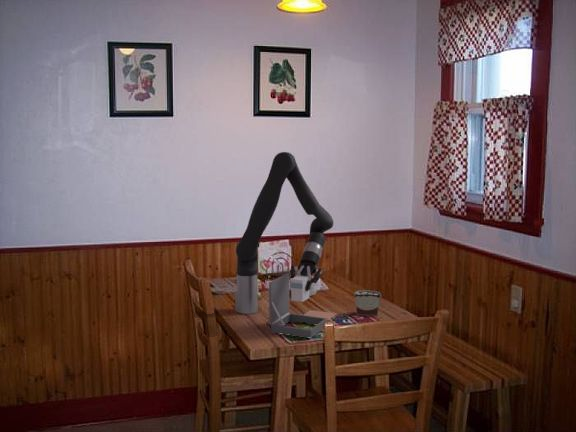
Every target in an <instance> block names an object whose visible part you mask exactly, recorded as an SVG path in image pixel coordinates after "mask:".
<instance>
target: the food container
mask: <svg viewBox="0 0 576 432" xmlns="http://www.w3.org/2000/svg"><path fill="white" fill-rule="evenodd" d="M353 298H354V299H355V300H354V301H355V312H356V316H379V307H380V300H381V298H382V294H381V292H379V291H376V290H370V289H365V290H364V289H362V290H357V291H355V292H354V294H353Z"/></svg>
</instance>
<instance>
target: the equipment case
mask: <svg viewBox="0 0 576 432" xmlns="http://www.w3.org/2000/svg"><path fill="white" fill-rule="evenodd" d="M268 284H269V285H268V286H269V287H268V289H269V290H268V293H269V295H268V297H269V299H268V303H269V305H268V306H269V307H268V310H269V313H268V314H269V316H268V317H269V318H268V319H269V322H268V323H269V325H270V332H271V333H270V334H274V333H283V334H289V335H295V336H303V337H312V336H314V335H315V334H317V333H318V332H319V331H321V330H322V328H323V324H324V323H326V322H327V318H320V317H313V316H306V315H304V314H299V313H298V314H297V313H291V312H290V272H287V273H285V274H282V275H281V276H279V277H278V278H275V279H273V280H270V281H269V282H268ZM290 321H293V322H292V323H295V322H305V323H310V324H317V325H314V326H313V327H311V329H307V328H299V327H293V326H287V324H286V323H288V322H289V323H291V322H290ZM289 323H288V324H289ZM327 323H328V322H327ZM285 324H286V325H285ZM284 325H285V326H284ZM322 331H323V330H322ZM322 331H321V332H322ZM318 334H319V333H318ZM318 334H317V335H318Z"/></svg>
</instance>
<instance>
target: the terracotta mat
mask: <svg viewBox="0 0 576 432" xmlns="http://www.w3.org/2000/svg"><path fill="white" fill-rule="evenodd" d="M303 315H306V316H313V317H320V318H327V320H329V321H331V320H332V319H333V318H335V317H336V316H337V315H338V313H334V312H327V311H322V310H321V311H320V310H312V309H310V310H309V311H307V312H305V313H304V314H303ZM335 315H336V316H335ZM332 317H333V318H332ZM331 318H332V319H331ZM330 319H331V320H330Z"/></svg>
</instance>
